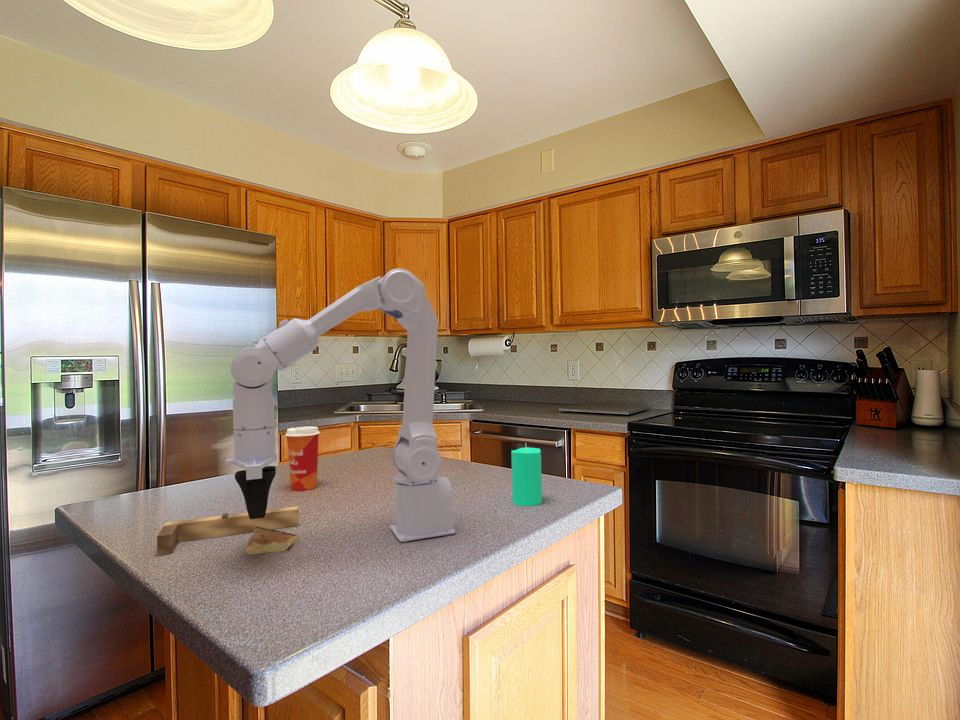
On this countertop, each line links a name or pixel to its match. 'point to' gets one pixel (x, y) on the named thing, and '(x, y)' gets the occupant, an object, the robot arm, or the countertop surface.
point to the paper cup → (303, 457)
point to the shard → (269, 541)
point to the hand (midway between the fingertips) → (257, 517)
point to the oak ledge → (222, 527)
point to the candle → (526, 476)
